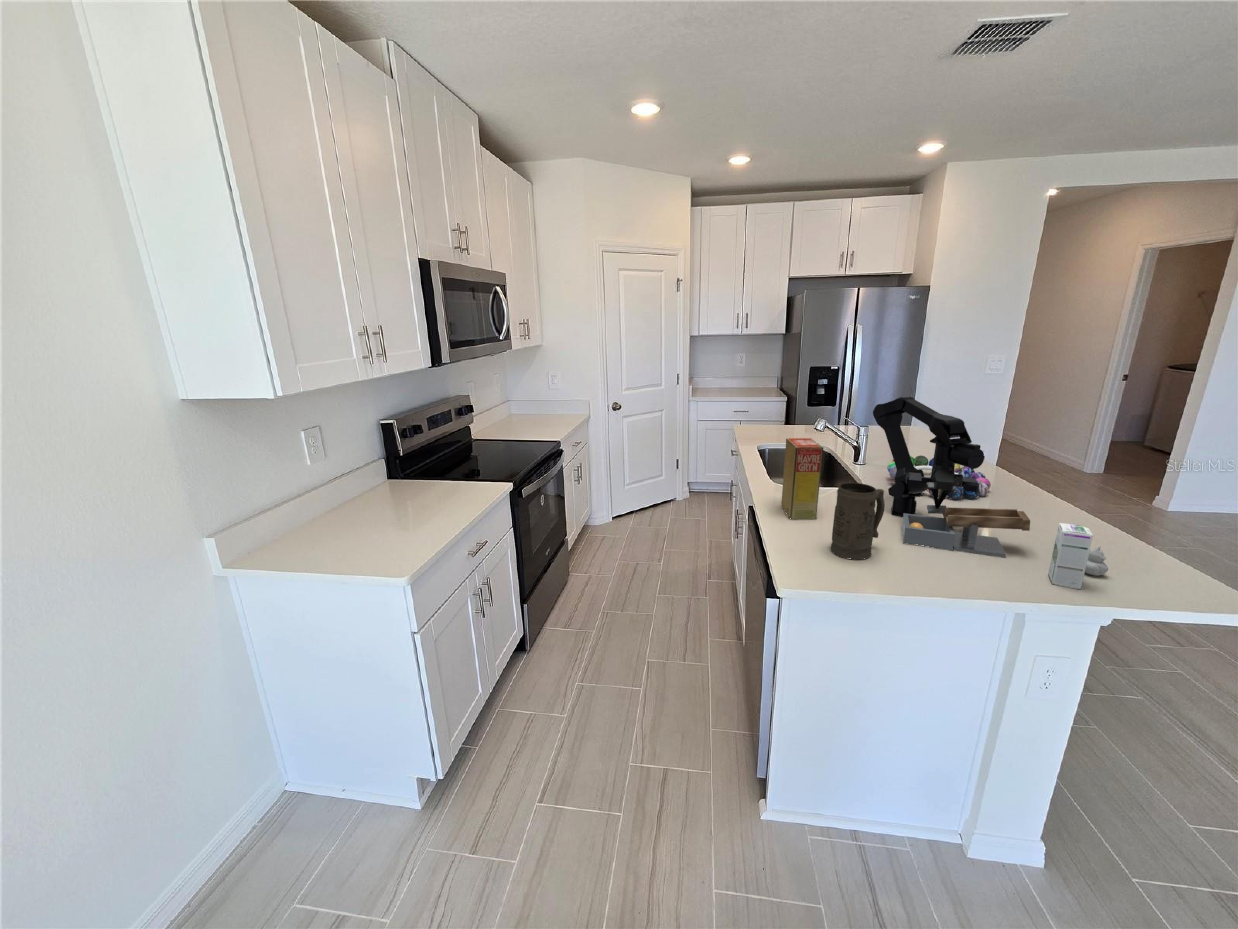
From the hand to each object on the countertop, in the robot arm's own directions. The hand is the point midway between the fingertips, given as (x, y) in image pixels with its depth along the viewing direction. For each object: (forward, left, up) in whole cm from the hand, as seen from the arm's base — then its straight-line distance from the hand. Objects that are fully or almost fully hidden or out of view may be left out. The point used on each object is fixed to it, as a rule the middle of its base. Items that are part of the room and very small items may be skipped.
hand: (936, 507), depth 157 cm
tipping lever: (+9, -6, 0) cm, 11 cm away
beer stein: (-21, -26, -7) cm, 34 cm away
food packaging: (-40, -2, -7) cm, 41 cm away
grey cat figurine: (+33, -18, -7) cm, 38 cm away
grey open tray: (-3, -10, -7) cm, 12 cm away
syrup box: (+26, -26, -7) cm, 37 cm away
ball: (-6, -10, -4) cm, 12 cm away
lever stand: (+10, -10, -7) cm, 15 cm away
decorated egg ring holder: (+4, +46, -7) cm, 46 cm away
